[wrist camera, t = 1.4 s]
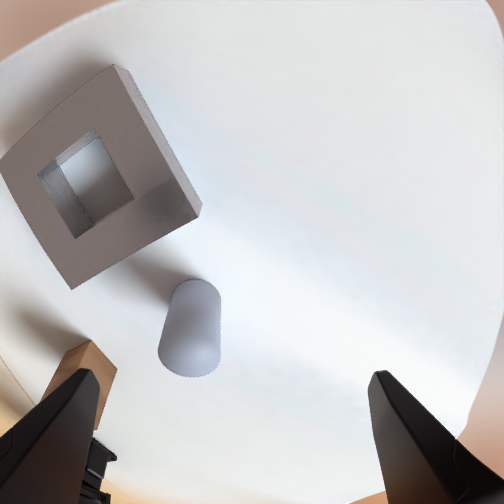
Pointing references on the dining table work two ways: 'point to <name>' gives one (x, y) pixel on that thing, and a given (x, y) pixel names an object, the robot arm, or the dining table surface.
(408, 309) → the dining table surface
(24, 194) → the socket block
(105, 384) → the square peg
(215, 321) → the round dowel
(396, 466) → the robot arm
